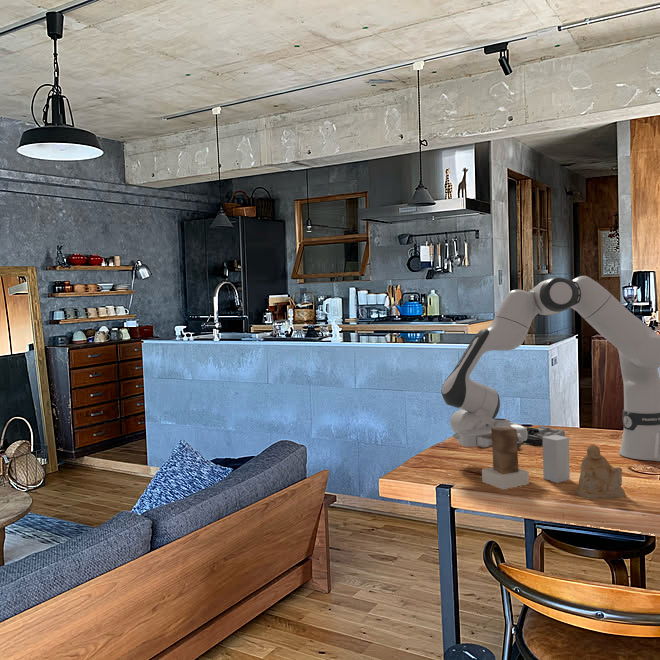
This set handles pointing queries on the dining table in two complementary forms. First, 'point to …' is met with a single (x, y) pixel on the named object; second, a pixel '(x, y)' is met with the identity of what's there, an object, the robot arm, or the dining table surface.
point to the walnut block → (504, 449)
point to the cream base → (505, 478)
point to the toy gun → (540, 435)
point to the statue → (599, 477)
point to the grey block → (556, 458)
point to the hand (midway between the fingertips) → (505, 441)
